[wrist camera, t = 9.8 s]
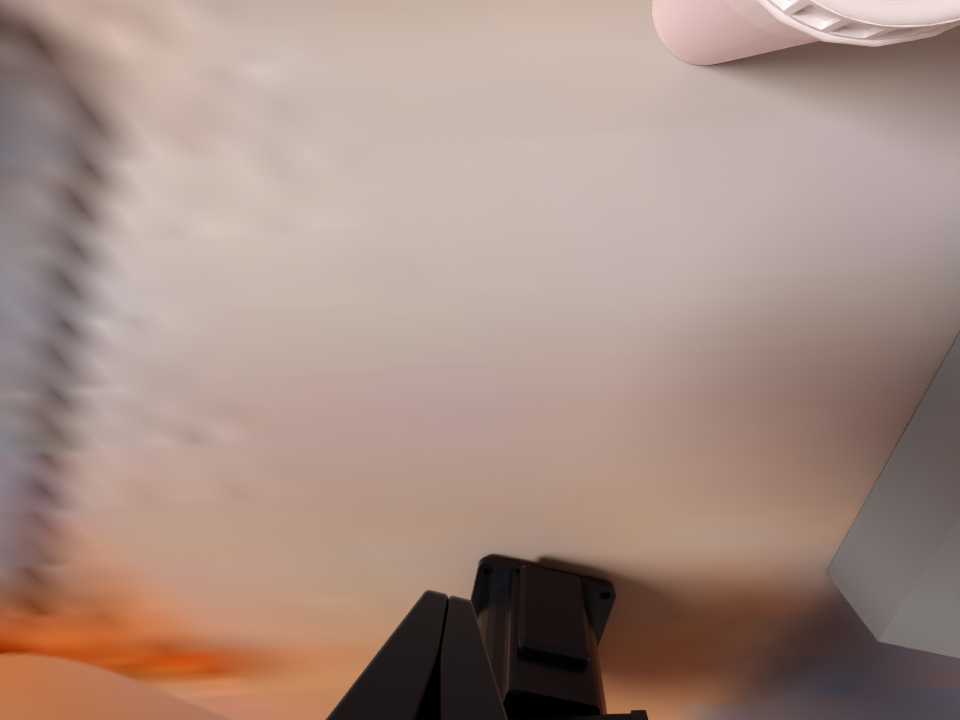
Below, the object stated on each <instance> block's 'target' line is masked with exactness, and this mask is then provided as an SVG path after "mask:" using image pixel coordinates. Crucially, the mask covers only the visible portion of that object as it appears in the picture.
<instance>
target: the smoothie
mask: <svg viewBox="0 0 960 720" xmlns="http://www.w3.org/2000/svg"><path fill="white" fill-rule="evenodd" d="M652 14H653V21H654V25H655V29H656V32H657V34H658V36H659V38H660V40H661V42H662V43H663V45H664V46H665V47H666V49H667V50H668V51H669V52H670V53H671V54H672V55H674V56H675V57H676V58H678V59H680V60H682V61H684V62H686V63H690V64H694V65H713V64H718V63H723V62H727V61H732V60H736V59H740V58H745V57H749V56H754V55H758V54H763V53H767V52H772V51H776V50H781V49H785V48H790V47H794V46H799V45H803V44H807V43H812V42H816V41H823V42H831V43H841V44H850V45H859V46H868V47H879V46H884V45H890V44H896V43H901V42H907V41H913V40H919V39H924V38H930V37H933V36H936V35H938V34H940V33H942V32H945V31H947V30H949V29H952V28H954V27H956V26H959V25H960V0H652Z"/></svg>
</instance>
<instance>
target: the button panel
mask: <svg viewBox="0 0 960 720" xmlns="http://www.w3.org/2000/svg"><path fill="white" fill-rule="evenodd" d="M826 574H827V575H828V576H829V577H830V579H831V580H832V581H833V583H834V584H835V585H836V587H837V588H838V589H839V591H840V592H841V593H842V595H843V596H844V597H845V599H846V600H847V601H848V603H849V604H850V605H851V606H852V608H853V609H854V610H855V612H856V613H857V614H858V616H859V617H860V618H861V620H862V621H863V622H864V624H865V625H866V626H867V628H868V629H869V630H870V632H871V633H872V634H873V635H874V637H875V638H876V639H877V641H878V642H883V643H888V644H892V645H897V646H902V647H907V648H912V649H917V650H922V651H926V652H931V653H936V654H941V655H946V656H951V657H955V658H960V333H959V334H958V336H957V338H956V340H955V342H954V343H953V345H952V347H951V349H950V351H949V352H948V354H947V356H946V358H945V359H944V361H943V363H942V365H941V367H940V368H939V370H938V372H937V374H936V376H935V377H934V379H933V381H932V383H931V385H930V386H929V388H928V390H927V392H926V394H925V395H924V397H923V399H922V401H921V403H920V404H919V406H918V408H917V410H916V412H915V413H914V415H913V417H912V419H911V421H910V422H909V424H908V426H907V428H906V430H905V431H904V433H903V435H902V437H901V439H900V440H899V442H898V444H897V446H896V448H895V449H894V451H893V453H892V455H891V457H890V458H889V460H888V462H887V464H886V466H885V467H884V469H883V471H882V473H881V475H880V476H879V478H878V480H877V482H876V483H875V485H874V487H873V489H872V491H871V492H870V494H869V496H868V498H867V500H866V501H865V503H864V505H863V507H862V509H861V510H860V512H859V514H858V516H857V518H856V519H855V521H854V523H853V525H852V527H851V528H850V530H849V532H848V534H847V536H846V537H845V539H844V541H843V543H842V545H841V546H840V548H839V550H838V552H837V554H836V555H835V557H834V559H833V561H832V563H831V564H830V566H829V568H828V570H827V572H826Z"/></svg>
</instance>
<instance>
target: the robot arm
mask: <svg viewBox="0 0 960 720" xmlns="http://www.w3.org/2000/svg"><path fill="white" fill-rule="evenodd" d="M486 567H491V568H492V569H487V568H486ZM603 591H607V592H606V593H602V592H603ZM615 598H616V593H615V588H614V585H613V584H612V583H611V582H609V581H606V580H601V579H596V578H591V577H586V576H582V575H577V574H572V573H567V572H562V571H557V570H553V569H548V568H543V567H538V566H533V565H528V564H523V563H519V562H514V561H509V560H504V559H499V558H494V557H484V558H482V559H481V560H480V561H479V564H478V569H477V573H476V577H475V582H474V586H473V591H472V595H471V600H468V599H464V598H460V597H456V596H450V597H449V598H448V596H447V595H446V594H444V593H440V592H436V591H432V590H427V591H426V592H424V594H423V595H422V596H421V597H420V599H419V600H418V601H417V603H416V604H415V605H414V606H413V608H412V609H411V610H410V612H409V613H408V614H407V616H406V617H405V618H404V619H403V621H402V622H401V623H400V625H399V626H398V627H397V628H396V630H395V631H394V632H393V634H392V635H391V636H390V637H389V639H388V640H387V641H386V643H385V644H384V645H383V646H382V648H381V649H380V650H379V652H378V653H377V654H376V656H375V657H374V658H373V659H372V661H371V662H370V663H369V665H368V666H367V667H366V668H365V670H364V671H363V672H362V674H361V675H360V676H359V677H358V679H357V680H356V681H355V683H354V684H353V685H352V687H351V688H350V689H349V690H348V692H347V693H346V694H345V696H344V697H343V698H342V699H341V701H340V702H339V703H338V705H337V706H336V707H335V708H334V710H333V711H332V712H331V714H330V715H329V716H328V717H327V719H326V720H648V717H647V713H646V710H631V713H628V714H607V709H606V702H605V695H604V689H603V682H602V675H601V669H600V662H599V656H598V649H597V647H598V644H599V642H600V639H601V636H602V633H603V631H604V628H605V625H606V622H607V620H608V617H609V614H610V611H611V609H612V606H613V603H614V600H615Z"/></svg>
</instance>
